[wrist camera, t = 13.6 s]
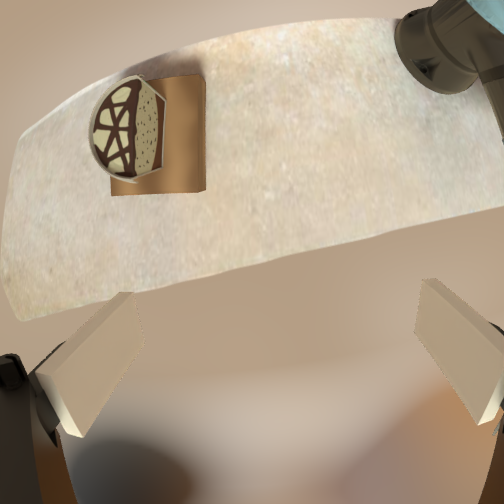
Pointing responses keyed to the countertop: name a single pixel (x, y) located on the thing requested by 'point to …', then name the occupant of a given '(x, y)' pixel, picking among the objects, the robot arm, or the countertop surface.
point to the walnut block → (176, 141)
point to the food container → (128, 129)
